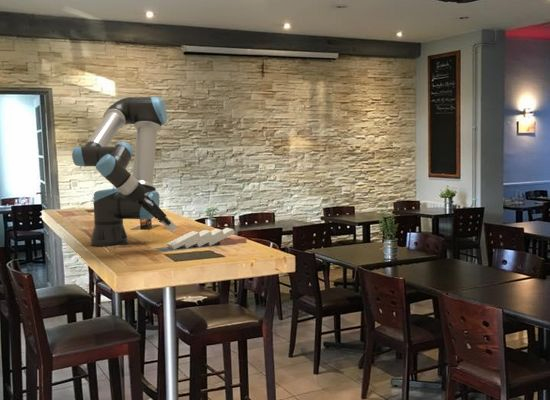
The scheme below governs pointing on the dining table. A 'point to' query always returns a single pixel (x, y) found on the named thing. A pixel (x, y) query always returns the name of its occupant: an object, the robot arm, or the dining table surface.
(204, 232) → the domino
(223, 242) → the domino
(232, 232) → the domino
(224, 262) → the dining table surface
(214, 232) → the domino
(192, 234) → the domino
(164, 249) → the runner mat
